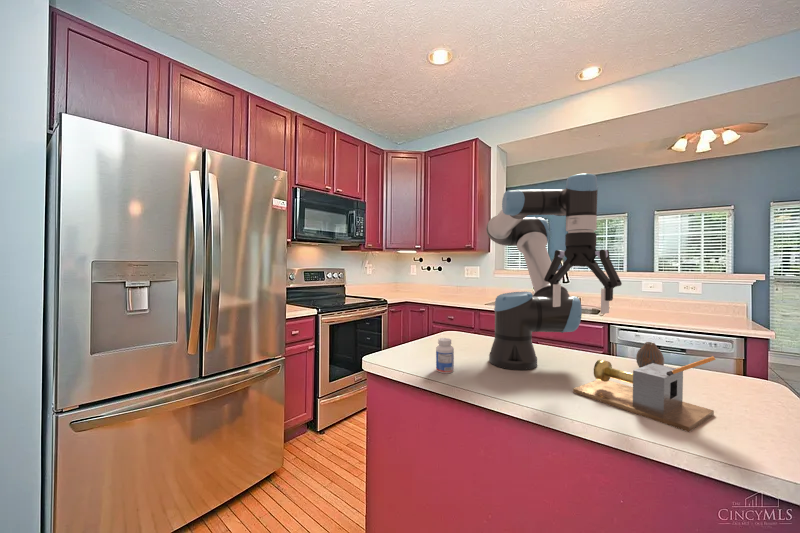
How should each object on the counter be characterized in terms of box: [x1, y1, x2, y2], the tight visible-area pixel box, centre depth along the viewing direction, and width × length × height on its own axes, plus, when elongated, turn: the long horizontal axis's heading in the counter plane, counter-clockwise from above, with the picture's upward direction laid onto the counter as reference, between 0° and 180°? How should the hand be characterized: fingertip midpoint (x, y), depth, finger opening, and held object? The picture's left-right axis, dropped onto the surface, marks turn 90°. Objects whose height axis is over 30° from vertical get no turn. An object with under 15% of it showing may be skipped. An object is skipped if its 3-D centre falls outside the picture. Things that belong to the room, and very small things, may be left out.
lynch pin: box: [593, 359, 633, 385], centre depth 85 cm, size 12×5×5 cm, turn 32°
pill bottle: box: [435, 337, 455, 374], centre depth 106 cm, size 6×5×10 cm
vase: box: [635, 341, 665, 368], centre depth 105 cm, size 7×7×9 cm
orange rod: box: [672, 355, 717, 374], centre depth 73 cm, size 8×4×1 cm
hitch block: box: [572, 363, 715, 433], centre depth 82 cm, size 24×14×10 cm, turn 32°
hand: (579, 309), depth 94 cm, fingers open, 13 cm apart
